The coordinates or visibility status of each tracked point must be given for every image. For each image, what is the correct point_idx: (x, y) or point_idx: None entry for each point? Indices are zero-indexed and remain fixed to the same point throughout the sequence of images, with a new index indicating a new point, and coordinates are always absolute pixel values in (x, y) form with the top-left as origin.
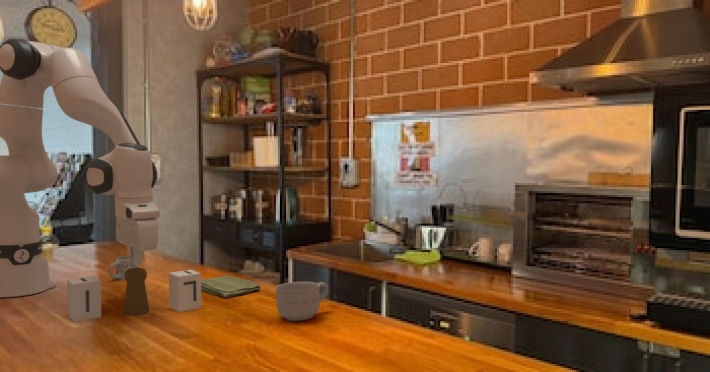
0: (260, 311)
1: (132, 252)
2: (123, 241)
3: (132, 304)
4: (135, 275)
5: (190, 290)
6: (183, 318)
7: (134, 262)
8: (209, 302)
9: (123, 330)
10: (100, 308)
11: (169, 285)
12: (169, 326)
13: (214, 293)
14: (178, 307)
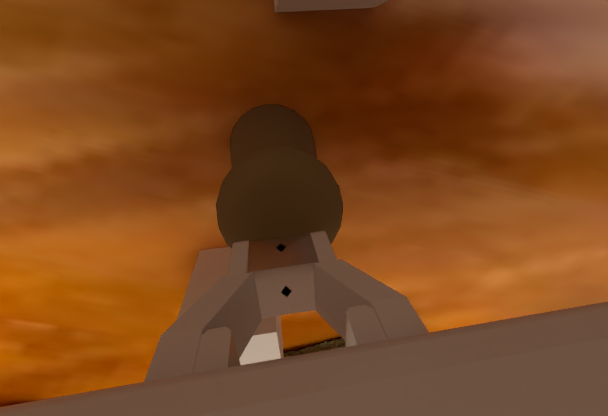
0: (117, 385)
1: (344, 302)
2: (549, 353)
3: (236, 137)
4: (218, 203)
5: None
6: (122, 247)
7: (232, 251)
8: None
9: (25, 44)
10: (276, 2)
11: None
12: (37, 197)
13: (322, 345)
14: (198, 259)
